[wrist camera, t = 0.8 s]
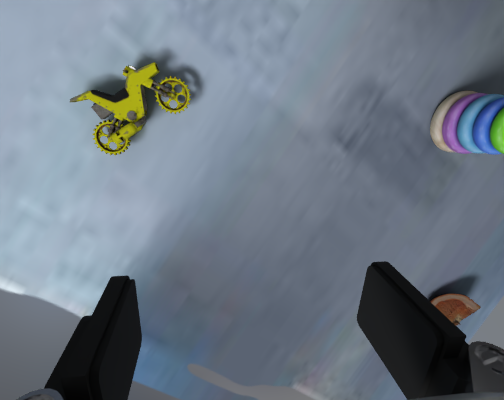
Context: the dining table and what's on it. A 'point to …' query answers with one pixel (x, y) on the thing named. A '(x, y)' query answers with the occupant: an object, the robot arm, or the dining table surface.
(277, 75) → the dining table surface
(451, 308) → the fruit slice
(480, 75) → the dining table surface
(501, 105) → the stacking toy
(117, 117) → the toy motorcycle
